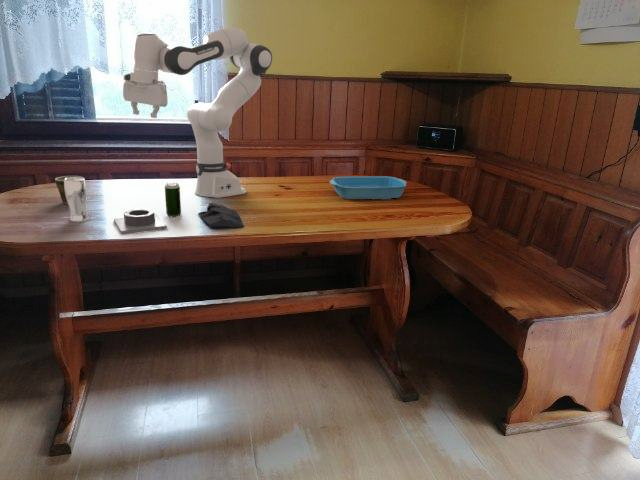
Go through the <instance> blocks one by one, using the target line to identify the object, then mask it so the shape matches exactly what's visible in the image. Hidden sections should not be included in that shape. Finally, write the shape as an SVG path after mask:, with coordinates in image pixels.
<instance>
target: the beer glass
mask: <svg viewBox="0 0 640 480" xmlns="http://www.w3.org/2000/svg"><path fill="white" fill-rule="evenodd" d="M64 188H65V195H66V199H67V202H68V205H67V206H68V208H69V211H70V212H69V213H70V214H69V220H70V221H71V222H72V223H73V222H74V223H82V222H87V221H89V218H90V217H89V215H88V211H87V204H88V203H87V202H88V200H87V199H88V190H87V184H86V179H85V177H83V176H81V177H69V178H65V179H64Z"/></svg>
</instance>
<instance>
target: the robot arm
mask: <svg viewBox="0 0 640 480" xmlns="http://www.w3.org/2000/svg"><path fill="white" fill-rule="evenodd" d="M133 44H134V45H133V60H134V63H133V71H132V72H129V73H125V74H123V81H124V82H123V87H122V88H123V89H122V97H123V100H124V101H126V102H130V106H131V108H132V114H133V115H135V116H136V115H137V116H138V115H140V110H139V109H138V105H139V104H142V105H143V104H144V105H149V106H150V105H151V106H152V112H150V118H152V119H157V117H158V113H159V111H160V107H161V108H166V107H167V105H168V102H169V101H168V91H167V85H166V83H165V82H164V81H163V80H159V71H161V72H163V73H169V74H175V75H178V76H185V75H188V74H189V73H190V72H191V71H192V70H194V69H195V68H196V67H197V66H198V65H201V64H204V63H207V62H211V61H214V60H215V61H220V60H223V59H227V58H229V59H230V60H229V61H230V62H231V64H232V65H233V66H234V67H236V68H238V69H240V70H239V72H238V74H237V75H236V76H234V77H233V78H231V79H230V80H229V81H228V82H227V83H226V84H225V85H224V86H223V87H221V88H220V89H219V90H218V93H217V97H216V98H215V99H214V100H213V101H212V102H210V103H207V102H197V103H194V104H191V105H190V106H189V107H188V109H187V111H186V112H187V113H186V116H187V118H186V119H187V120H188V122H189V123H190V125H191V127H192V131H193V136H194V138H195V144H196V156H197V161H196V174H197V180H196V189H195V192H194V194H196V195H198V196H201V197H207V198H208V197H210V198H216V199H218V198H225V197H231V196H239V195H244V194H246V193H247V191H246V188H244V187H243V186H241V185H242V184H241V181H240V179H239V177H237V176H236V175H235V174H234V173H233V172H231V171H230V170H229V169H231V167H232V164H231V163H229V162H225V161H224V150H223V149H224V148H223V147H224V144H223V142H222V141H221V139H220V137H219V134H218V133H219V132H226V131H227V130H229V129H230V127H231V125H232V123H233V117H234V115H235V114H236V112H237V111H238V110H239V109H241V107H242V106H243V105H244V104H245V103H246V102H248V101H249V100H250V99H251V98H252V97H253V96H254V95H255V94H256V92H257V91H258V90H259V89H260V87H261V85H262V79H261V78H262V76H264V75H266V73H267V71H268V69H269V68H270V66H271V65H272V62H273V55H272V52H271V50H270V49H269V48H268V47H266V46H265V45H262V44H257V43H251V42H250V43H249V41H248V37H247V34H246V32H245V31H244V30H243V29H241V28H239V27H228V28H221V29H217V30H214V31H211V32H209V33H208V34H206V35H204V37H203V43H202V44H200V45H199V44H198V45H196V46H193V47H186V46H182V45H181V46H180V45H175V46H173V45H171V46H170V45H169V44H167V43H166V42H165V41H163V40H162V39H161V38H160V37H159V36H158V35H157V34H156V33H153V32H152V33H147V32H146V33H144V32H143V33H138V34H137V35H136V36H135V38H134V43H133Z"/></svg>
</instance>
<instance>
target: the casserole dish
mask: <svg viewBox="0 0 640 480" xmlns="http://www.w3.org/2000/svg"><path fill="white" fill-rule="evenodd" d="M329 183H330V185H332V186H333V188H334V192H336V193H337V194H338V195H339V196H340V198H342V199H344V198H346V199H345V200H348V199H373V200H374V199H381V200H392V199H391V198H397V199H398V198H400V197H401V196H402V195H403V194H404V191H405V188H406V186H407V184H408V182H407V181H406V180H404V179H401V178H397V177H394V176H386V175H385V176H383V175H378V176H377V175H375V176H374V175H373V176H372V175H371V176H369V175H368V176H359V175H358V176H336V177H335V176H334V177H333V178H332V179H331V180H329Z"/></svg>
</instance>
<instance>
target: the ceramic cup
mask: <svg viewBox="0 0 640 480" xmlns="http://www.w3.org/2000/svg"><path fill="white" fill-rule="evenodd" d="M69 177H82V176H79V175H64V176H59V177H55V179H54V181H55V185H56V187H57V189H58V193H59V196H60V199H61V201H62V204H63V205H66V206H69V205H68V202H67V199H66V195H65V188H64V179H65V178H69Z"/></svg>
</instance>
